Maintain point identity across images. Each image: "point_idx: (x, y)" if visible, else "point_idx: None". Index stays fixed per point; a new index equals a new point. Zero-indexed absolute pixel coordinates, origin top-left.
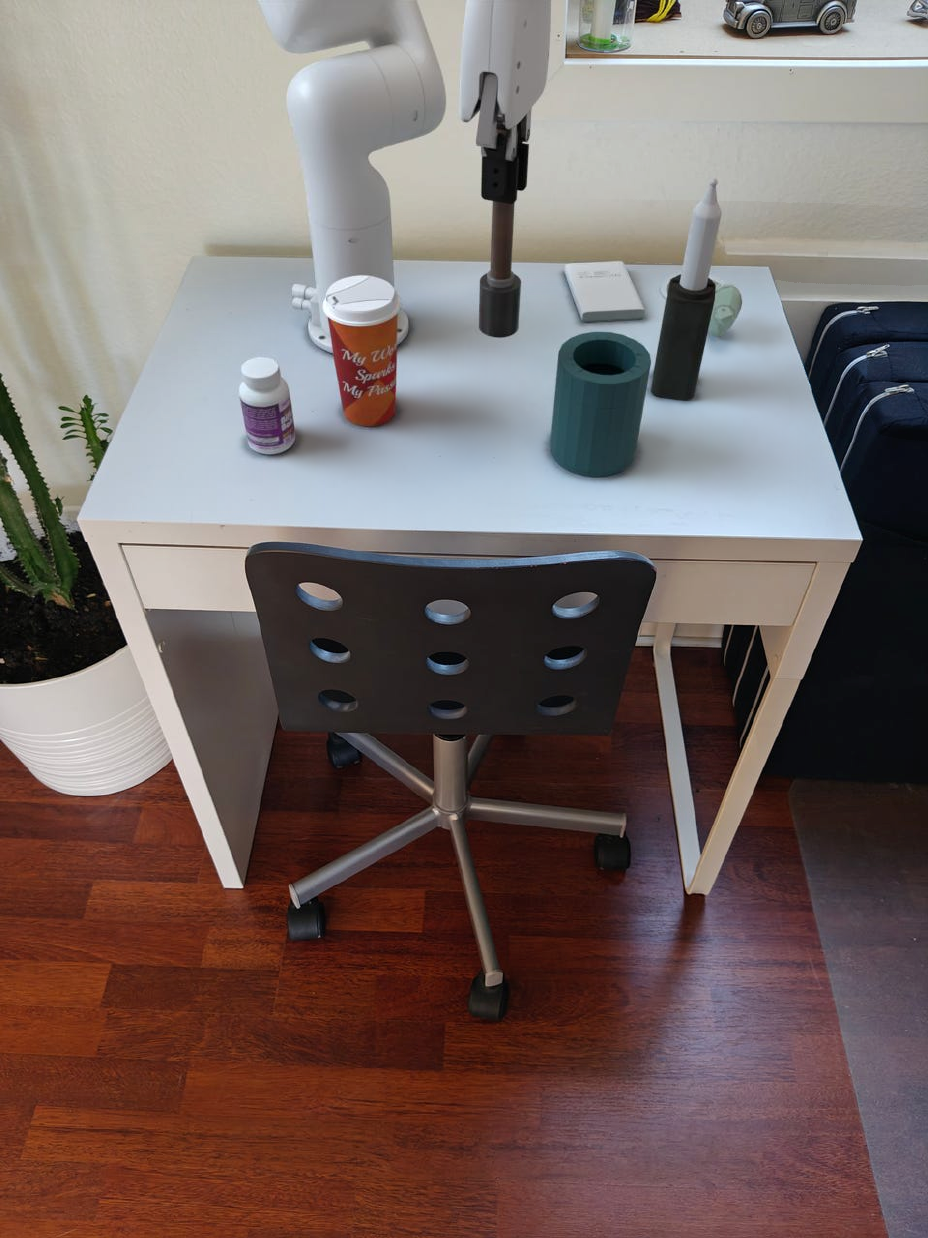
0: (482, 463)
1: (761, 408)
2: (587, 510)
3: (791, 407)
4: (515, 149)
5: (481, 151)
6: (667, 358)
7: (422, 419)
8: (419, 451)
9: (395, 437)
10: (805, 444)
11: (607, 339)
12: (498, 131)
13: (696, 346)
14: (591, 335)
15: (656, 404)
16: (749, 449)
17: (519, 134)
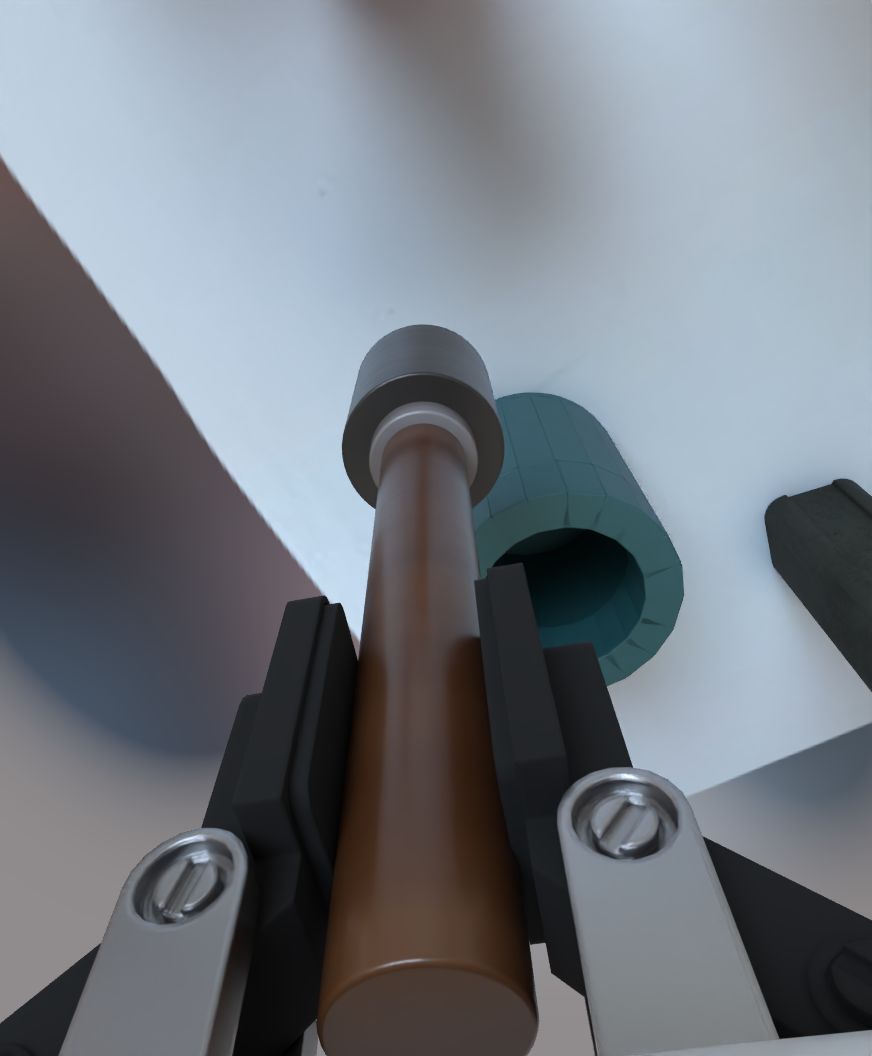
0: (358, 299)
1: (800, 681)
2: (352, 546)
3: (823, 719)
4: (316, 1050)
5: (120, 892)
6: (805, 570)
7: (426, 57)
8: (308, 133)
9: (318, 34)
10: (719, 764)
11: (643, 576)
12: (378, 993)
13: (832, 641)
14: (642, 536)
15: (737, 523)
16: (665, 702)
17: (580, 986)
